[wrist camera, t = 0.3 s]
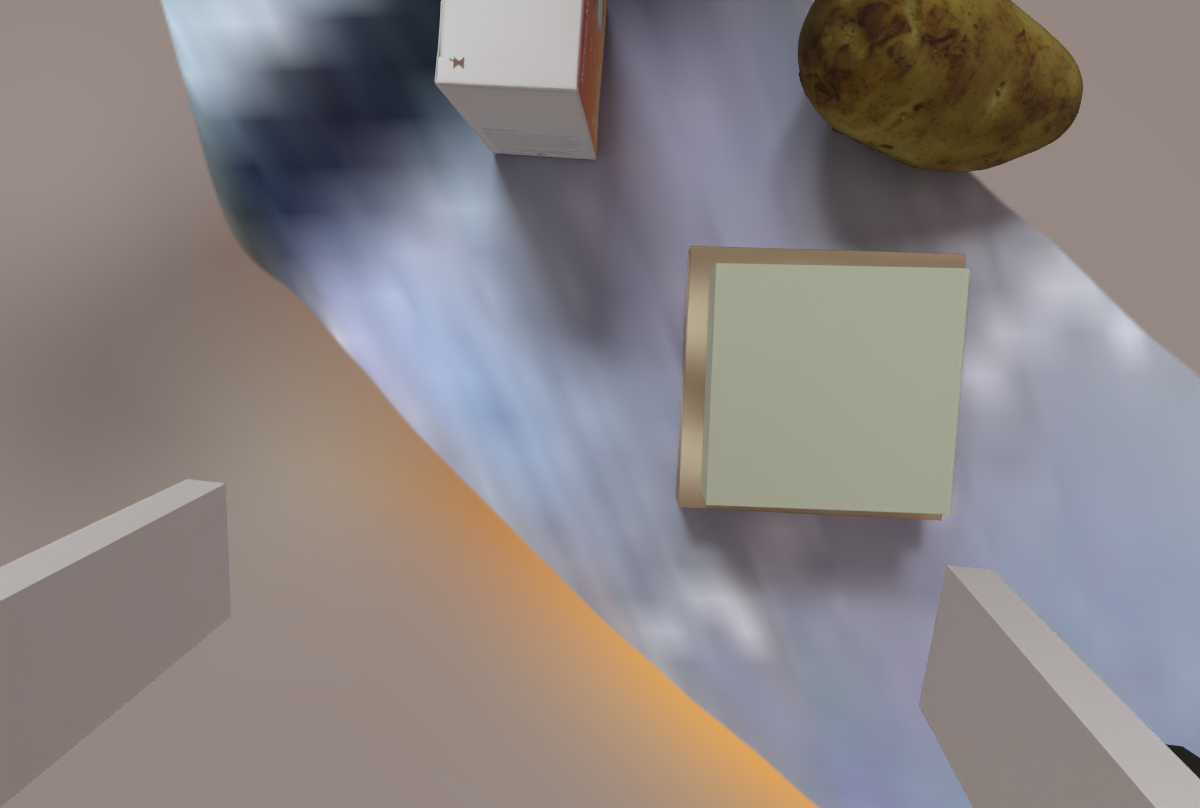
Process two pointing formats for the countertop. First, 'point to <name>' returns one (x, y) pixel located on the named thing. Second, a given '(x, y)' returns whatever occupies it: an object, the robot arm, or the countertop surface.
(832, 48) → the potato
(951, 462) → the sage top slab
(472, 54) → the small box
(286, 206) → the countertop surface
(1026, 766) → the robot arm
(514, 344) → the countertop surface
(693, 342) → the birch base slab
